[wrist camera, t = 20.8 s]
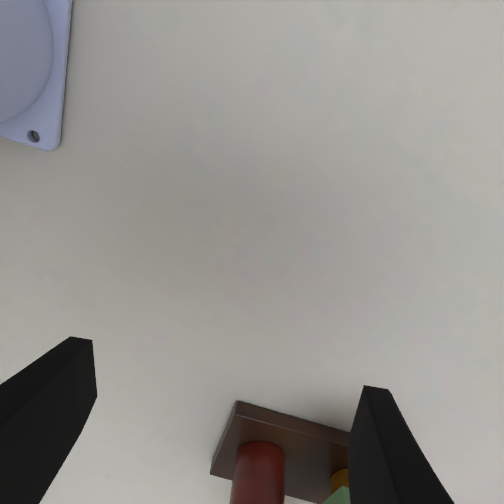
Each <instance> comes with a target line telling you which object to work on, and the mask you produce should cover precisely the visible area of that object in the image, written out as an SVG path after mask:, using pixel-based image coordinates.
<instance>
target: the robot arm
mask: <svg viewBox="0 0 504 504" xmlns="http://www.w3.org/2000/svg"><path fill="white" fill-rule="evenodd" d="M71 10H72V0H0V137H2V138H6V139H9V140H12V141H15V142H18V143H21V144H25V145H28V146H31V147H34V148H37V149H41V150H44V151H52V150H54V149H56V148H57V147H58V146H59V144H60V137H61V126H62V114H63V103H64V91H65V79H66V68H67V56H68V45H69V33H70V21H71ZM32 130H33V131H35V132H37V133H38V135H39V138H40V139H39V140H37V139H35V138H34V137H33V135H32ZM96 398H97V388H96V377H95V366H94V355H93V344H92V340H89V339H83V338H77V337H71V336H70V337H69V338H67V339H66V340H64V341H63V342H61V343H60V344H58V345H57V346H56V347H54V348H53V349H51V350H50V351H48V352H47V353H46V354H44V355H43V356H41V357H40V358H38V359H37V360H36V361H34V362H33V363H31V364H30V365H28V366H27V367H26V368H24V369H23V370H21V371H20V372H18V373H17V374H15V375H14V376H12V377H11V378H9V379H8V380H7V381H5V382H4V383H2V384H1V385H0V504H39V503H40V501H41V500H42V498H43V496H44V495H45V493H46V491H47V490H48V488H49V486H50V485H51V483H52V481H53V479H54V478H55V476H56V474H57V473H58V471H59V469H60V468H61V466H62V464H63V463H64V461H65V459H66V458H67V456H68V454H69V453H70V451H71V449H72V447H73V446H74V444H75V442H76V441H77V439H78V437H79V435H80V434H81V432H82V430H83V428H84V425H85V423H86V421H87V419H88V417H89V414H90V412H91V410H92V407H93V405H94V403H95V400H96ZM348 484H349V494H350V504H454V502H453V501H452V499H451V498H450V496H449V494H448V493H447V491H446V490H445V488H444V487H443V485H442V484H441V482H440V481H439V479H438V477H437V476H436V474H435V473H434V471H433V469H432V468H431V466H430V464H429V463H428V461H427V459H426V458H425V456H424V454H423V452H422V451H421V449H420V447H419V446H418V444H417V442H416V440H415V438H414V437H413V435H412V433H411V431H410V429H409V427H408V426H407V424H406V422H405V420H404V418H403V416H402V414H401V412H400V410H399V408H398V406H397V404H396V402H395V400H394V398H393V396H392V394H391V393H390V391H389V390H388V389H383V388H377V387H371V386H365V385H364V387H363V390H362V394H361V397H360V401H359V404H358V408H357V411H356V415H355V418H354V422H353V425H352V429H351V432H350V436H349V439H348Z"/></svg>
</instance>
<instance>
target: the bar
mask: <svg viewBox="0 0 504 504" xmlns="http://www.w3.org/2000/svg"><path fill="white" fill-rule="evenodd" d="M322 504H350V494H349V488H347V487H345V486H341V487H340V488H339V489H338V490H337V491H336V492H335V493H333V494H332V495H331V496H330V497H329V498H328V499H326V500H325V501H324V502H323V503H322Z"/></svg>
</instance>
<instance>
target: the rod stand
mask: <svg viewBox="0 0 504 504" xmlns="http://www.w3.org/2000/svg"><path fill="white" fill-rule="evenodd" d="M349 436H350V433H348V432H344V431H341V430H337V429H333V428H330V427H326V426H323V425H319V424H316V423H312V422H309V421H305V420H302V419H298V418H295V417H291V416H288V415H284V414H281V413H277V412H274V411H270V410H267V409H263V408H260V407H256V406H253V405H249V404H246V403H242V402H239V401H237V402H236V404H235V407H234V409H233V411H232V414H231V416H230V419H229V421H228V423H227V426H226V428H225V431H224V433H223V436H222V438H221V440H220V443H219V445H218V448H217V450H216V453H215V455H214V457H213V460H212V464H211V469H210V475H214V476H218V477H221V478H225V479H229V480H232V488H231V496H230V503H229V504H284V495H287V496H291V497H294V498H298V499H302V500H305V501H309V502H313V503H316V504H322V503H323V502H324V501H325V500H326V499H328V498H329V497H330V496H331V495H332V494H333V493H335V492H336V491H337V490H338V489H339V488H340V487H341V486H345V487H347V488H349V484H348V439H349Z"/></svg>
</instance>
